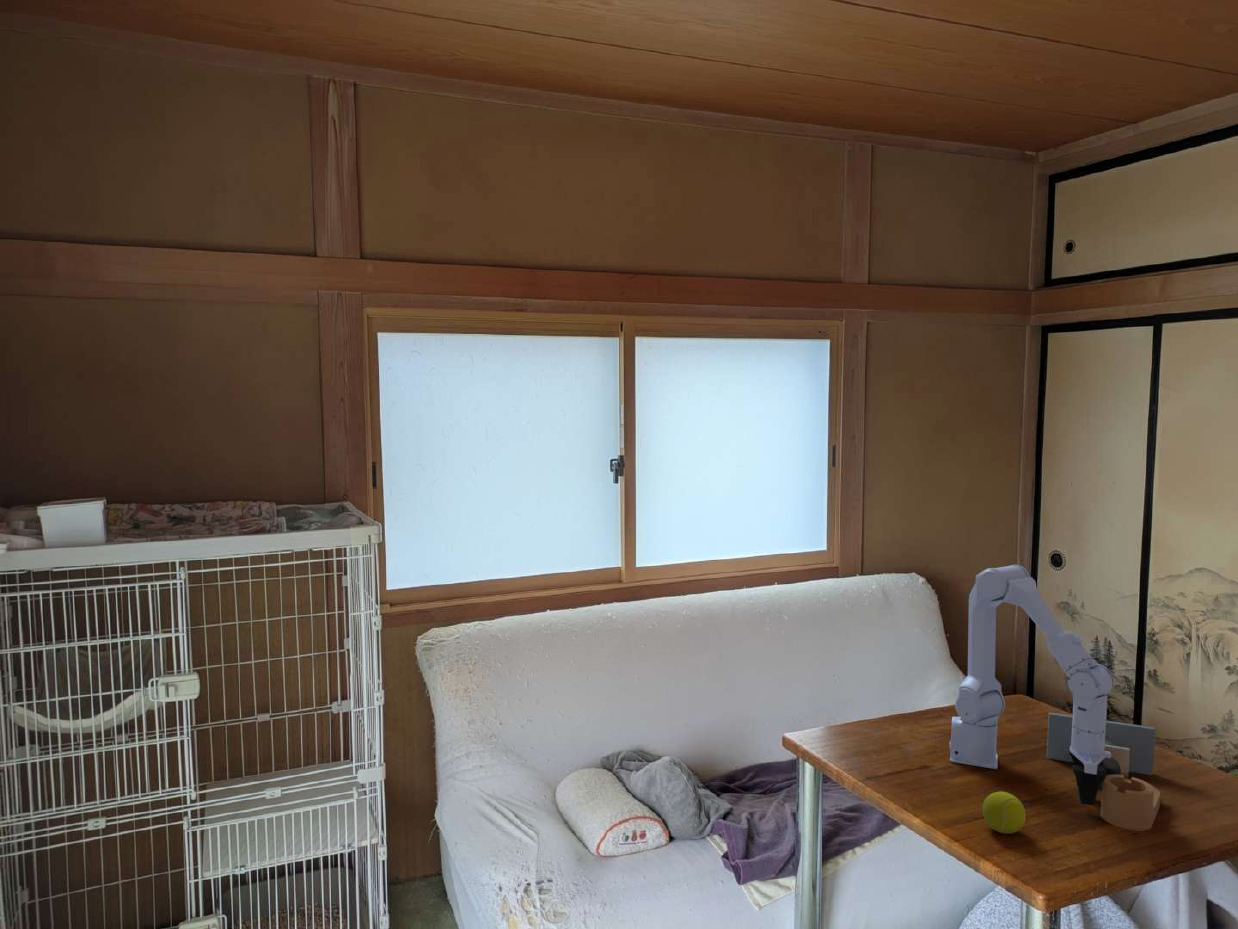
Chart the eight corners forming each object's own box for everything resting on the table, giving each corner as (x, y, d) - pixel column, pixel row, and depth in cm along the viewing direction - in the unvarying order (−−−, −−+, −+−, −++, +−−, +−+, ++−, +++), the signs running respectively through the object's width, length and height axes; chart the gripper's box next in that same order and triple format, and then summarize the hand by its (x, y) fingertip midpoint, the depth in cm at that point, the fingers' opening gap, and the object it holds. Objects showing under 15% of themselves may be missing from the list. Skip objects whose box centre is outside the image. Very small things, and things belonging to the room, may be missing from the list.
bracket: (1148, 835, 154) (1150, 798, 153) (1096, 820, 159) (1098, 785, 159) (1162, 800, 168) (1164, 766, 167) (1114, 788, 173) (1116, 755, 173)
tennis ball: (1032, 837, 153) (1034, 799, 152) (1002, 843, 150) (1004, 805, 150) (1002, 819, 159) (1004, 783, 159) (973, 825, 157) (975, 788, 156)
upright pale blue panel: (1049, 777, 178) (1051, 730, 177) (1046, 756, 189) (1048, 712, 188) (1160, 796, 170) (1163, 747, 169) (1151, 773, 180) (1154, 727, 180)
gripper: (1116, 744, 157) (1112, 815, 158) (1107, 719, 170) (1104, 784, 171) (1073, 738, 160) (1070, 808, 161) (1068, 713, 173) (1065, 777, 174)
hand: (1085, 795), depth 166 cm, fingers open, 7 cm apart
